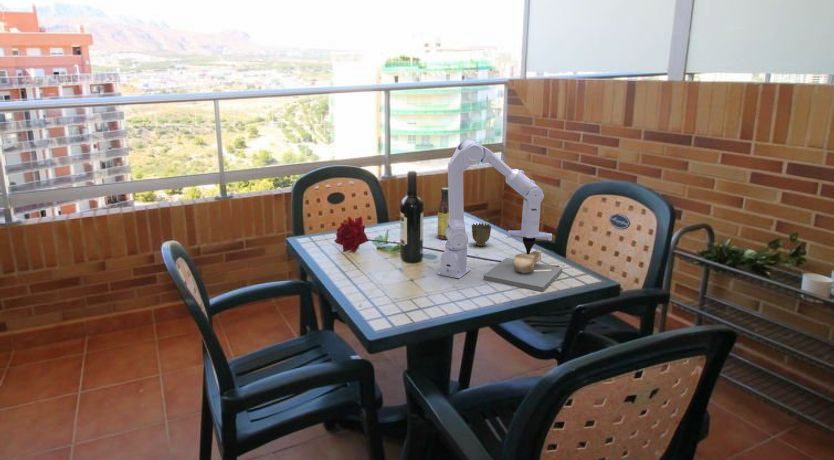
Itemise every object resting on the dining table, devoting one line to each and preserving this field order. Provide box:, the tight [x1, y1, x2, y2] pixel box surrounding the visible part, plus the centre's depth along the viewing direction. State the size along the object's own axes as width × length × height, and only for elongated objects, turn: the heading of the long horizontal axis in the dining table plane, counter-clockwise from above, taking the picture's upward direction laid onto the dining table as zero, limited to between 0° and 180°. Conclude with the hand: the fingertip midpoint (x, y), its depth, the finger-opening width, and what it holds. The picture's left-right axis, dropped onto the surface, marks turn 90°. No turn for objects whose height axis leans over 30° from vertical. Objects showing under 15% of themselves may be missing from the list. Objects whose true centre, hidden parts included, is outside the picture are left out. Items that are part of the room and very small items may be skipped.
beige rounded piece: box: [514, 249, 542, 272], centre depth 203 cm, size 13×6×4 cm, turn 140°
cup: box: [471, 222, 492, 248], centre depth 231 cm, size 8×7×8 cm
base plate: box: [483, 257, 563, 293], centre depth 202 cm, size 20×20×2 cm
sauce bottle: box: [437, 187, 449, 241], centre depth 239 cm, size 7×6×20 cm
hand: (527, 258), depth 207 cm, fingers closed
